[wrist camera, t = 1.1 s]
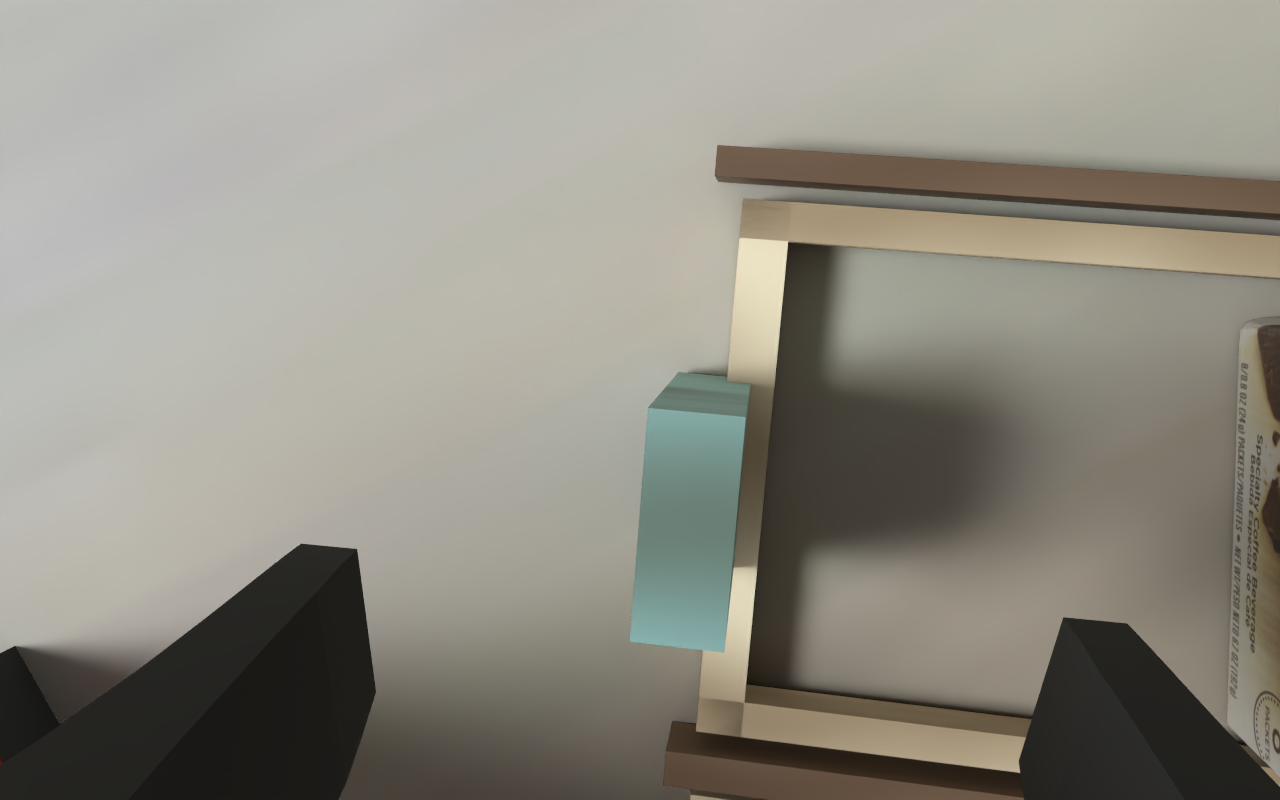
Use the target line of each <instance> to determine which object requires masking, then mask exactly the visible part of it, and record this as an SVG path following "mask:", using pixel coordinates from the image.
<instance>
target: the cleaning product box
mask: <svg viewBox="0 0 1280 800" xmlns="http://www.w3.org/2000/svg"><path fill="white" fill-rule="evenodd" d="M59 725H60V724H59V723H58V721H57V719H56V717H55V716H54V714H53V712H52V710H51V708H50V707H49V705H48V703H47V701H46V700H45V698H44V696H43V694H42V693H41V691H40V689H39V687H38V686H37V684H36V682H35V680H34V679H33V677H32V675H31V673H30V672H29V670H28V668H27V666H26V665H25V663H24V661H23V659H22V657H21V656H20V654H19V652H18V650H17V649H16V647H15V646H14V647H12V648H10V649H8V650H6V651H4V652H2V653H0V765H1V764H2V763H4V762H6V761H7V760H9V759H10V758H12V757H13V756H15V755H17V754H18V753H20V752H21V751H23V750H24V749H26V748H27V747H29V746H30V745H32V744H33V743H35V742H36V741H38V740H39V739H41V738H42V737H44V736H45V735H46V734H48V733H49V732H51V731H52V730H54V729H55V728H56V727H58V726H59Z"/></svg>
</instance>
